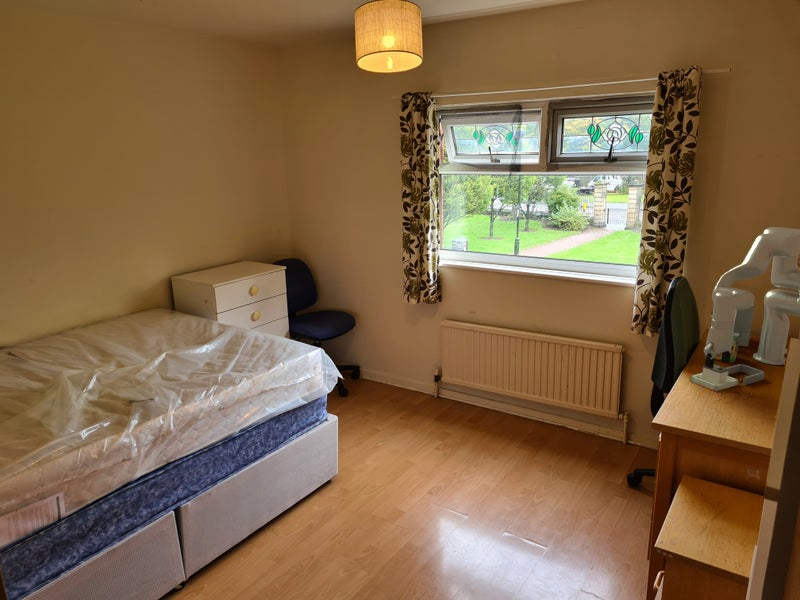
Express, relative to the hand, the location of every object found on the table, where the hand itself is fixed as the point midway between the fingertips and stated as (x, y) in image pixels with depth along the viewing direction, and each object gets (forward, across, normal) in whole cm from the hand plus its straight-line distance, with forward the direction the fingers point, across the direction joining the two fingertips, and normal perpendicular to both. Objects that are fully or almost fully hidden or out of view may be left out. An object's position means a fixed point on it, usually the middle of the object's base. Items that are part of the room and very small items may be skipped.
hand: (717, 364), depth 215 cm
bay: (+8, -13, +2) cm, 15 cm away
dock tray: (+7, +1, 0) cm, 7 cm away
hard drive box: (+10, -53, -27) cm, 60 cm away
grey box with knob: (+7, +1, 0) cm, 7 cm away
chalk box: (+9, -28, -15) cm, 33 cm away
